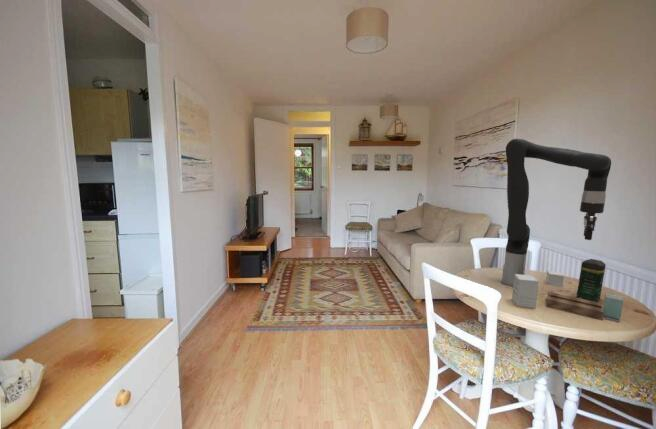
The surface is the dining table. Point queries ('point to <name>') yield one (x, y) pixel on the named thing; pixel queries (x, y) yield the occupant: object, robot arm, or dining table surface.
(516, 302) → the supplement box
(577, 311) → the wooden slotted block
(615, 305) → the stub
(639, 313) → the dining table surface
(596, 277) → the coffee jar
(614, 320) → the mat
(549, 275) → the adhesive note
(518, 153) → the robot arm
